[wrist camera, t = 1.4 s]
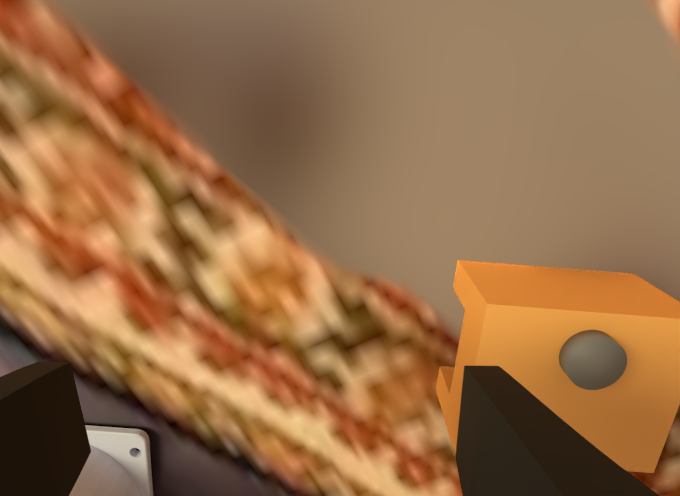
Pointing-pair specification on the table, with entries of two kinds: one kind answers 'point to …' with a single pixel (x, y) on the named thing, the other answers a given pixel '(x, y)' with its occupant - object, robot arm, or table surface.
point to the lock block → (574, 351)
